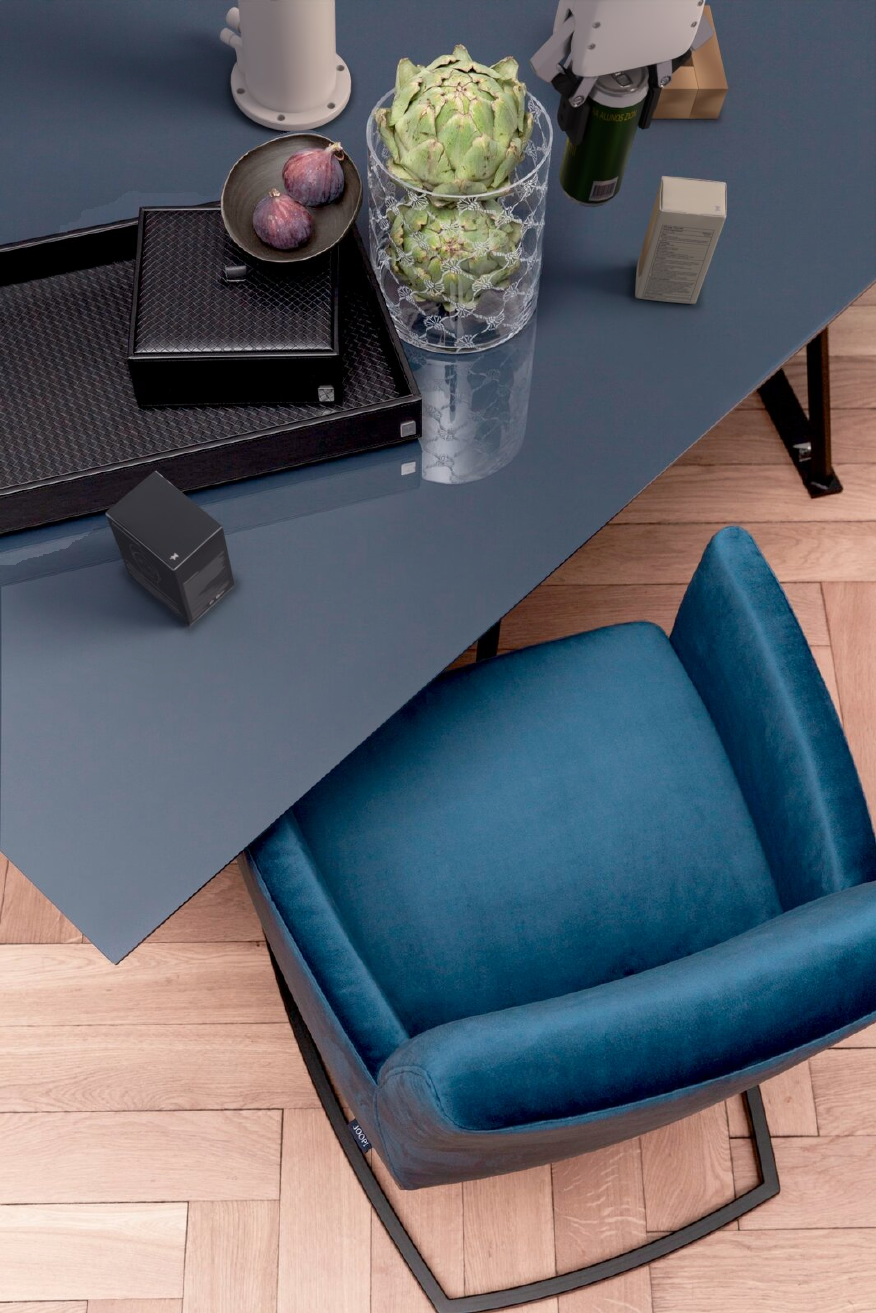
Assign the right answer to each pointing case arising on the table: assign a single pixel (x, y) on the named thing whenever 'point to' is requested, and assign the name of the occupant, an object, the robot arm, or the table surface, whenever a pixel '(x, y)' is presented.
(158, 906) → the table surface
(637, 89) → the beer can
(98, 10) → the table surface
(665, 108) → the holder
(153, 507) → the box
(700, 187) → the cosmetic box
